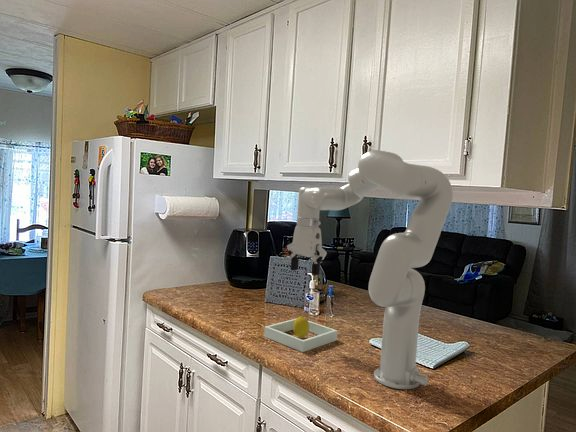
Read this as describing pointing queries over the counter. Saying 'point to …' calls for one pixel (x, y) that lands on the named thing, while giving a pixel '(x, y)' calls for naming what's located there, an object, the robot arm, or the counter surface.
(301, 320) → the lemon
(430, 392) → the counter surface
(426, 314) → the counter surface
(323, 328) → the pale green square frame
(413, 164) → the robot arm
